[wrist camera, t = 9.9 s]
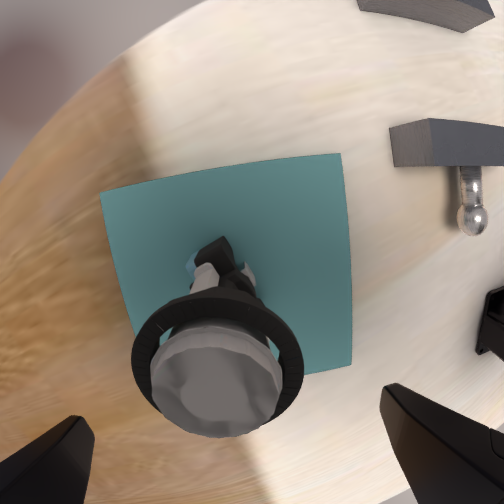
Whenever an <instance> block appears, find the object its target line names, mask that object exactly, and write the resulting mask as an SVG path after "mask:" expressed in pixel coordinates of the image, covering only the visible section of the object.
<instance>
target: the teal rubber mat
mask: <svg viewBox="0 0 504 504" xmlns="http://www.w3.org/2000/svg"><path fill="white" fill-rule="evenodd" d="M99 194H100V200H101V205H102V211H103V216H104V221H105V226H106V231H107V235H108V240H109V244H110V249H111V253H112V257H113V261H114V265H115V269H116V273H117V277H118V281H119V284H120V288H121V291H122V295H123V298H124V302H125V305H126V308H127V312H128V315H129V318H130V321H131V324H132V327H133V330H134V333H135V336H137V334H138V333H139V331H140V329H141V328H142V326H143V324H144V323H145V322H146V320H147V319H148V318H149V317H150V316H151V315H152V314H153V313H154V312H155V311H156V310H158V309H159V308H160V307H162V306H164V305H165V304H167V303H168V302H169V301H171V300H173V299H176V298H179V297H182V296H186V295H189V293H190V291H191V290H190V288H189V287H190V285H191V283H193V282H194V280H193V279H192V277H191V276H190V274H189V273H188V271H187V269H186V263H187V262H188V260H189V258H190V257H191V255H192V254H193V253H195V252H197V251H198V250H200V249H202V248H203V247H205V246H207V245H208V244H210V243H212V242H213V241H215V240H217V239H218V238H220V237H222V236H225V238H226V239H227V241H228V242H229V244H230V246H231V247H232V250H233V255H234V260H235V264H236V266H237V268H238V269H239V271H241V270H243V269H244V261H245V262H246V263H247V264H248V266H249V268H250V269H251V271H252V272H253V274H254V276H255V281H256V283H255V284H256V286H254V288H255V291H256V297H257V298H260V299H261V300H262V302H263V303H264V305H265V307H267V308H268V309H270V310H271V311H273V312H274V313H275V314H277V315H278V316H279V317H280V318H281V319H282V320H283V321H284V322H285V323H286V324H287V325H288V326H289V327H290V329H291V330H292V331H293V333H294V335H295V337H296V338H297V341H298V343H299V346H300V349H301V351H302V355H303V359H304V375H307V374H312V373H317V372H322V371H327V370H331V369H336V368H340V367H345V366H349V365H351V362H352V283H351V259H350V242H349V228H348V216H347V205H346V195H345V185H344V177H343V168H342V161H341V153H336V154H324V155H313V156H303V157H293V158H284V159H276V160H268V161H260V162H253V163H246V164H239V165H232V166H226V167H220V168H214V169H208V170H202V171H197V172H191V173H186V174H181V175H175V176H170V177H165V178H161V179H156V180H151V181H147V182H142V183H138V184H133V185H129V186H125V187H121V188H117V189H113V190H109V191H105V192H101V193H99ZM172 328H173V327H172ZM172 328H170V329H169V330H168V331H166V332H165V333H164V334H163V335H162V336H161V337H160V346H161V345H162V344H163V343H164V342H165V341H166V340H168V337H169V335H170V333H171V330H172ZM269 345H270V350H271V352H272V353H273V355H274V357H275V358H276V360H277V361H278V357H279V350H278V349H277V347H276V346H275V344H274V343H273V342H272V341H271V340H270V341H269Z"/></svg>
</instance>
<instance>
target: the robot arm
mask: <svg viewBox="0 0 504 504" xmlns="http://www.w3.org/2000/svg"><path fill="white" fill-rule="evenodd" d="M489 350H490V351H492V352H493V353H494V354H495V355H496V356H498V357H499V358H500V359H501V360H502V361H504V287H501V288H499V289H496V290H494V291H491V292H489V294H488V295H487V298H486V305H485V310H484V316H483V321H482V326H481V331H480V335H479V340H478V344H477V348H476V353H477V354H478V355H481V354H483V353H486V352H488V351H489ZM380 413H381V416H382V419H383V422H384V425H385V427H386V430H387V433H388V436H389V439H390V442H391V445H392V448H393V451H394V453H395V456H396V458H397V460H398V462H399V464H400V466H401V468H402V470H403V472H404V474H405V477H406V479H407V481H408V483H409V485H410V487H411V489H412V491H413V493H414V496H415V498H416V500H417V502H418V504H504V434H503V433H501V432H499V431H496V430H494V429H492V428H490V429H489V427H487V426H485V425H483V424H481V423H478V422H476V421H474V420H472V419H470V418H468V417H465V416H463V415H461V414H459V413H457V412H455V411H453V410H451V409H449V408H447V407H444V406H442V405H440V404H438V403H436V402H434V401H432V400H430V399H428V398H426V397H424V396H422V395H420V394H418V393H416V392H414V391H412V390H410V389H408V388H406V387H404V386H402V385H400V384H398V383H393V384H389V385H386V386H384V387H383V389H382V394H381V400H380ZM94 442H95V437H94V433H93V431H92V430H91V428H90V427H89V425H88V424H87V422H86V420H85V419H84V418H83V417H82V416H76V415H71V416H69V417H68V418H66V419H65V420H63V421H62V422H60V423H59V424H57V425H56V426H54V427H53V428H51V429H50V430H49V431H47V432H46V433H44V434H43V435H41V436H40V437H38V438H37V439H35V440H34V441H32V442H31V443H29V444H28V445H26V446H25V447H23V448H22V449H20V450H19V451H17V452H16V453H14V454H12V455H11V456H9V457H8V458H6V459H5V460H3V461H2V462H0V504H84V499H85V495H86V490H87V486H88V481H89V476H90V470H91V462H92V455H93V448H94Z"/></svg>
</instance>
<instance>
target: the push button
mask: <svg viewBox="0 0 504 504" xmlns="http://www.w3.org/2000/svg"><path fill="white" fill-rule="evenodd" d="M186 269H187V271H188V273H189V274H190V276H191V277H192V279H193V280H194V282H193V283H191V285H190V287H189V288H190V290H191V291H190V293H189V295H186V296H182V297H179V298H176V299H173V300H171V301H169V302H168V303H167V304H165V305H164V306H162V307H160V308H159V309H158V310H156V311H155V312H154V313H153V314H152V315H151V316H150V317H149V318H148V319H147V320H146V322H145V323H144V324H143V326H142V328H141V329H140V331H139V333H138V334H137V336H136V339H135V341H134V344H133V348H132V354H131V365H132V371H133V375H134V378H135V381H136V383H137V385H138V387H139V389H140V391H141V392H142V394H143V395H144V397H145V398H146V399H147V400H148V401H149V403H150V404H151V405H152V406H153V407H154V408H156V409H157V410H158V411H159V412H160V413H162V414H163V415H164V417H165V418H167V419H168V420H170V421H171V422H172V423H174V424H175V425H177V426H179V427H180V428H182V429H183V430H185V431H187V432H189V433H194V434H198V435H202V436H206V437H209V438H224V437H237V436H239V435H242V434H248V433H249V432H251V431H253V430H255V429H258V428H259V427H260V426H261V425H264V424H266V423H268V422H270V421H272V420H273V419H275V418H276V417H278V416H279V415H280V414H282V413H283V412H284V411H285V410H286V409H287V408H288V407H289V406H290V405H291V404H292V402H293V401H294V400H295V398H296V396H297V395H298V393H299V391H300V388H301V386H302V382H303V378H304V359H303V355H302V351H301V349H300V346H299V343H298V341H297V338H296V337H295V335H294V333H293V331H292V330H291V329H290V327H289V326H288V325H287V324H286V323H285V322H284V321H283V320H282V319H281V318H280V317H279V316H278V315H277V314H275V313H274V312H273V311H271V310H270V309H268V308H267V307H265V305H264V303H263V302H262V300H261V299H260V298H257V297H256V291H255V288H254V286H256V284H255V283H256V281H255V276H254V274H253V272H252V271H251V269H250V268H249V266H248V264H247V263H246V262H245V261H244V269H243V270H241V271H239V269H238V268H237V266H236V264H235V260H234V255H233V250H232V247H231V246H230V244H229V242H228V241H227V239H226V238H225V236H222V237H220V238H218V239H217V240H215V241H213V242H212V243H210V244H208V245H207V246H205V247H203V248H202V249H200V250H198V251H197V252H195V253H193V254H192V255H191V257H190V258H189V260H188V262H187V263H186ZM172 327H173V328H172ZM170 328H172V330H171V333H170V335H169V337H168V340H166V341H165V342H164V343H163V344H162V345H161V346H160V337H161V336H162V335H163V334H164V333H165V332H166V331H168V330H169V329H170ZM270 340H271V341H272V342H273V343H274V344H275V346H276V347H277V349H278V350H279V357H278V361H277V360H276V358H275V357H274V355H273V353H272V352H271V350H270V345H269V341H270Z"/></svg>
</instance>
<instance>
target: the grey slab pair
mask: <svg viewBox="0 0 504 504" xmlns="http://www.w3.org/2000/svg"><path fill="white" fill-rule="evenodd" d="M357 2H358V5H359V8H360V10H362V11H370V12H377V13H383V14H389V15H395V16H400V17H405V18H410V19H414V20H418V21H423V22H427V23H431V24H434V25H438V26H442V27H445V28H448V29H452V30H455V31H458V32H461V33H464V32H466V31H468V30H470V29H472V28H474V27H476V26H478V25H480V24H482V23H484V22H486V21H488V20H491V19H493V18H495V16H494V13H493V11H492V9H491V7H490V4H489V2H488V0H357ZM389 130H390V137H391V144H392V151H393V159H394V167H400V166H460V179H461V197H462V204H461V206H460V207H459V209H458V212H457V223H458V226H459V228H460V229H461V230H462V232H464V233H465V234H467V235H469V236H477V235H480V234H481V233H482V232H483V231H484V230H485V229H486V227H487V224H488V214H487V211H486V209H485V207H484V206H483V190H482V173H481V166H504V127H501V126H495V125H488V124H481V123H474V122H465V121H456V120H446V119H434V118H427V119H423V120H419V121H415V122H411V123H407V124H403V125H399V126H396V127H392V128H389Z"/></svg>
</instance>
